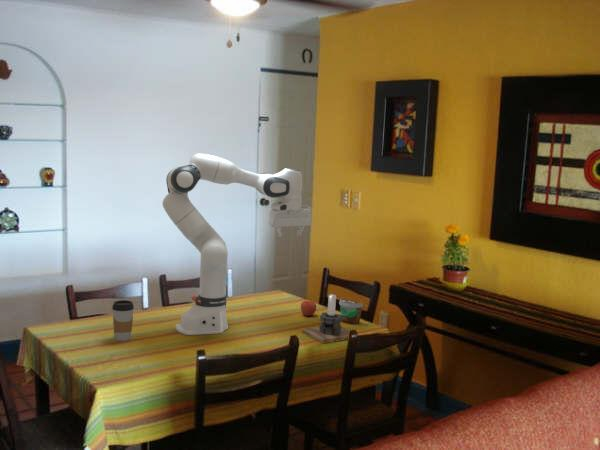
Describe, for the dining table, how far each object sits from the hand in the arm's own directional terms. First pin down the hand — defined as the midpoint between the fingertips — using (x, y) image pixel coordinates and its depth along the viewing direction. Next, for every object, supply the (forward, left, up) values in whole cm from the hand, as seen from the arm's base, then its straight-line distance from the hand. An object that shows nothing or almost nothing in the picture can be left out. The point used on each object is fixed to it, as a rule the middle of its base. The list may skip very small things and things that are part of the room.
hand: (289, 236), depth 305 cm
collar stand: (+8, -24, -39) cm, 47 cm away
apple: (+15, +5, -39) cm, 42 cm away
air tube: (+8, -24, -38) cm, 45 cm away
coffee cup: (-73, +4, -39) cm, 83 cm away
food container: (+26, -11, -39) cm, 48 cm away
